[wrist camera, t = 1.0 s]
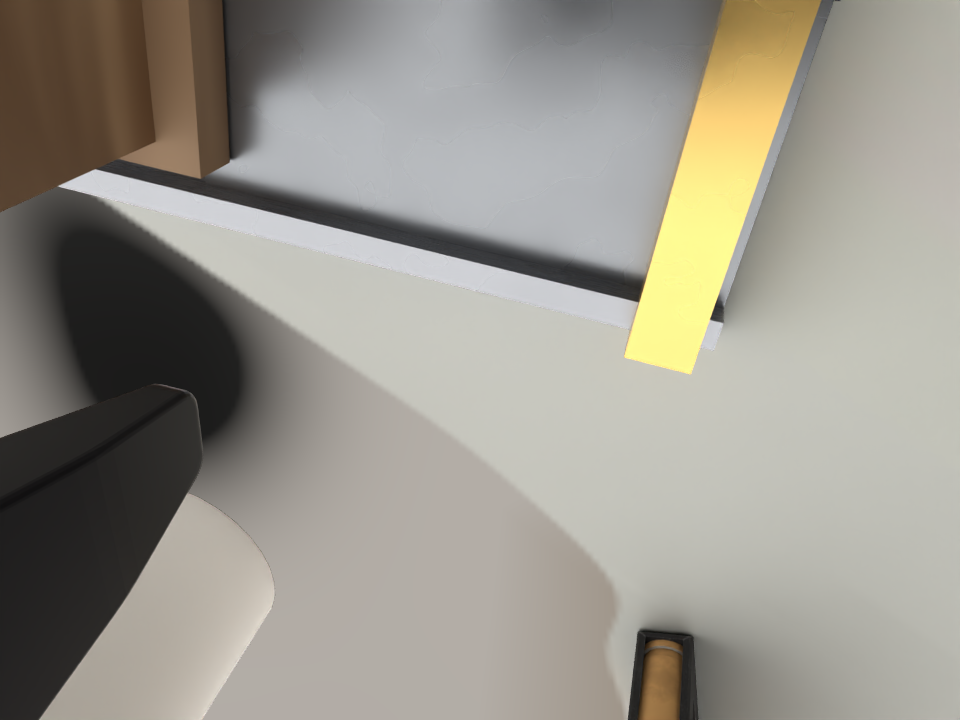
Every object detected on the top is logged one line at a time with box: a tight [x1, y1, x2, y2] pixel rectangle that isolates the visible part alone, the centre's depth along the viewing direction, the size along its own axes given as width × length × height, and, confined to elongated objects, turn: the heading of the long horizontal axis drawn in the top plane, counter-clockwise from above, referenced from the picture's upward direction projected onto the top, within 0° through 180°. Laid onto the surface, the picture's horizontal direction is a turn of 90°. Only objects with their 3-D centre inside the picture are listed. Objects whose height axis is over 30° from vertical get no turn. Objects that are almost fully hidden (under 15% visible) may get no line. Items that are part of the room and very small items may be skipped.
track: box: [59, 0, 840, 374], centre depth 18 cm, size 21×9×2 cm, turn 83°
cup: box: [39, 493, 275, 720], centre depth 28 cm, size 8×12×10 cm
